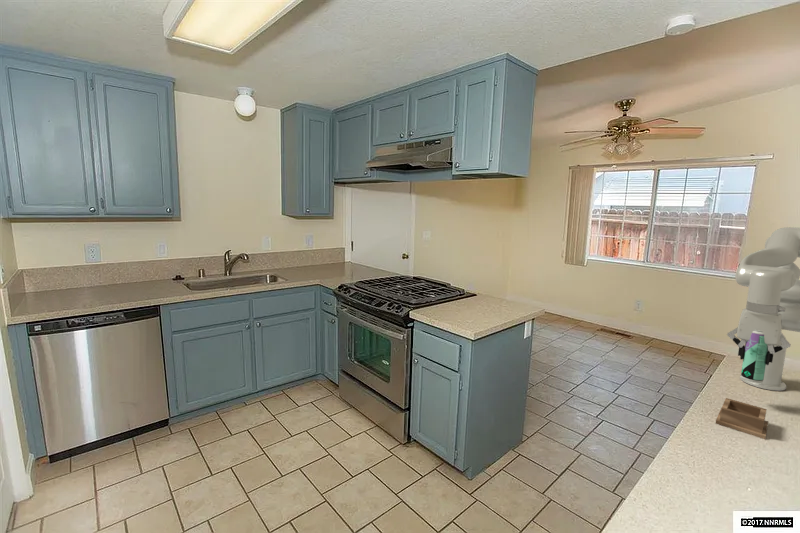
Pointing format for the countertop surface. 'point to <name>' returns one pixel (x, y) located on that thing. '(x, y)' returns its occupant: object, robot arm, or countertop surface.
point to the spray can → (754, 358)
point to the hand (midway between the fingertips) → (754, 360)
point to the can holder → (743, 418)
